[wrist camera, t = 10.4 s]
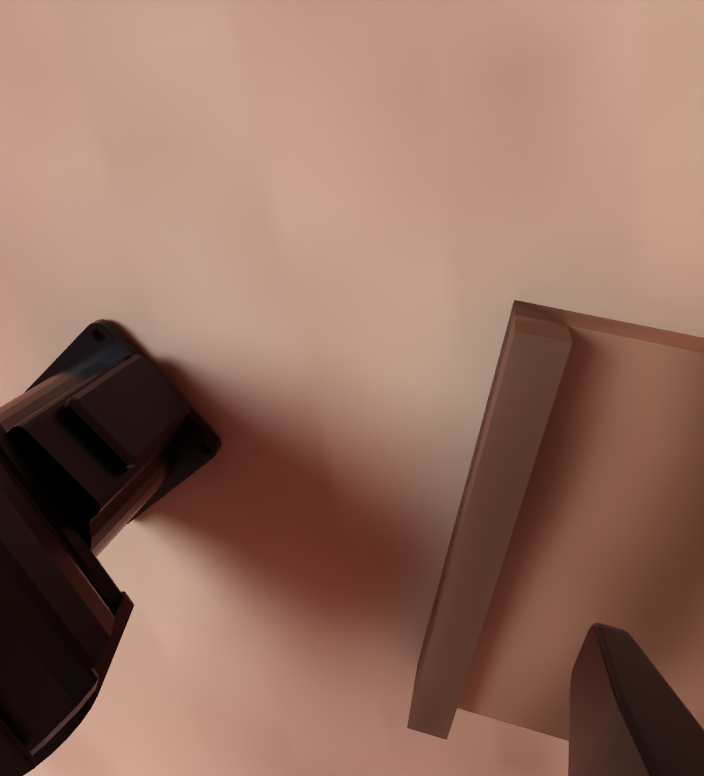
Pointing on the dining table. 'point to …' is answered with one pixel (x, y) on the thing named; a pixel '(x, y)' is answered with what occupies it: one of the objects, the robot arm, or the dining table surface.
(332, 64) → the dining table surface
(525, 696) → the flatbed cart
